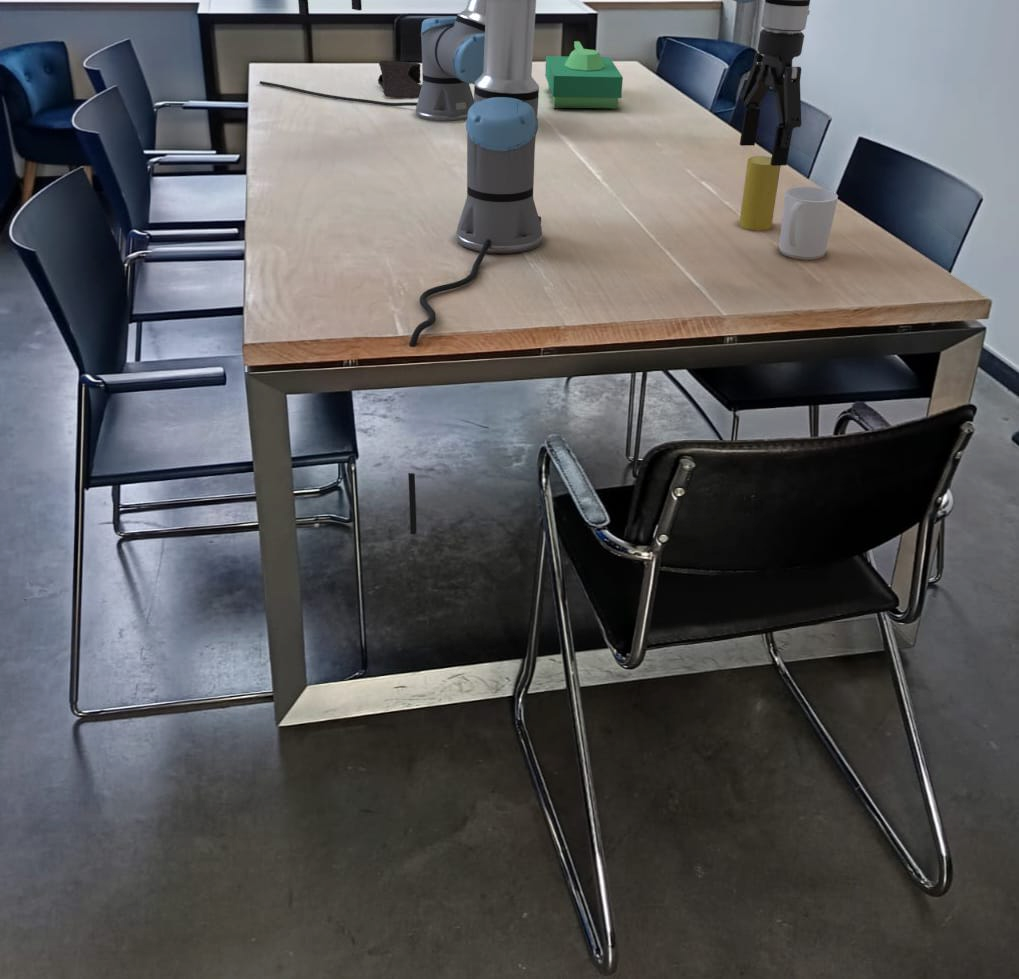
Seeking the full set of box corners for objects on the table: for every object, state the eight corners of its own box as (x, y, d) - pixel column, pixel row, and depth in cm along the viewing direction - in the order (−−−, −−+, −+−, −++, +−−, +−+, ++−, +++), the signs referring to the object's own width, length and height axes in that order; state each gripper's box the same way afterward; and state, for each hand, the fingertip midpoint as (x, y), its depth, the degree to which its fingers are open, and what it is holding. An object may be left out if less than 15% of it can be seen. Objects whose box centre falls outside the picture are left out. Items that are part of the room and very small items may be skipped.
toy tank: (607, 38, 308) (624, 61, 278) (604, 83, 314) (620, 111, 284) (544, 36, 307) (554, 60, 277) (542, 82, 313) (552, 110, 283)
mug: (790, 240, 199) (799, 183, 193) (836, 251, 194) (846, 193, 188) (761, 255, 191) (769, 197, 186) (808, 267, 186) (818, 208, 181)
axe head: (443, 87, 294) (392, 77, 287) (436, 115, 299) (385, 106, 292) (421, 62, 307) (371, 52, 300) (414, 89, 311) (365, 80, 304)
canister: (774, 230, 204) (784, 165, 197) (742, 230, 203) (751, 164, 197) (767, 220, 209) (776, 156, 202) (736, 220, 209) (744, 155, 202)
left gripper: (281, -96, 218) (290, 19, 229) (383, -99, 232) (387, 9, 244) (262, -98, 223) (271, 14, 234) (363, -101, 237) (368, 5, 248)
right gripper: (837, 43, 179) (812, 173, 190) (772, 18, 199) (753, 137, 210) (795, 43, 177) (772, 174, 188) (733, 18, 198) (716, 137, 209)
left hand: (330, 12), depth 239 cm, fingers open, 13 cm apart
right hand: (762, 155), depth 199 cm, fingers open, 13 cm apart
